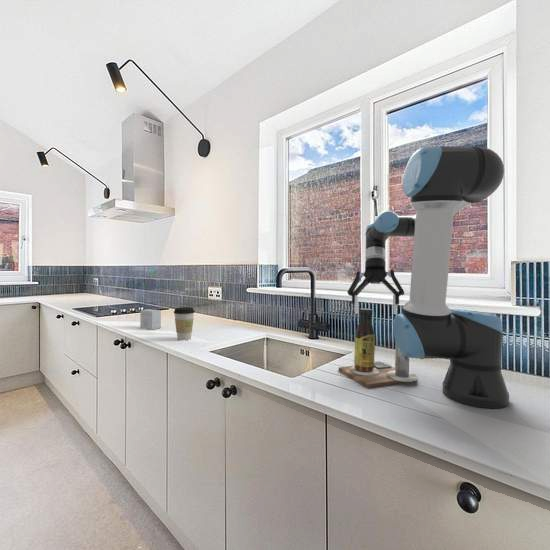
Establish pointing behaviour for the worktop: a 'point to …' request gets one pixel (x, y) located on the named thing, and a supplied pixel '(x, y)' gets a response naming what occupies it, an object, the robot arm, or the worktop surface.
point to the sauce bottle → (364, 342)
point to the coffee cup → (184, 322)
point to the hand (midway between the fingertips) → (374, 313)
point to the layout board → (377, 375)
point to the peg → (401, 363)
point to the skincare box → (150, 319)
